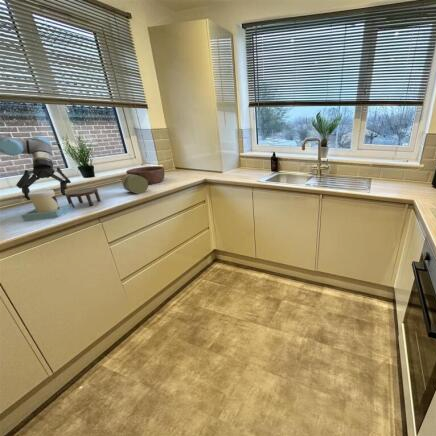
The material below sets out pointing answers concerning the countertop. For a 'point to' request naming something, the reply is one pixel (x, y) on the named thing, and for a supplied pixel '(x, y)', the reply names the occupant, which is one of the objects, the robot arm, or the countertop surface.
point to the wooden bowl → (149, 173)
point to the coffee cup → (44, 200)
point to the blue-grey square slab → (46, 213)
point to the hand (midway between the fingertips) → (45, 196)
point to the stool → (82, 192)
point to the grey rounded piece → (134, 183)
